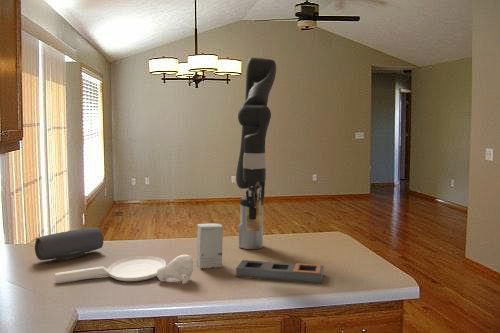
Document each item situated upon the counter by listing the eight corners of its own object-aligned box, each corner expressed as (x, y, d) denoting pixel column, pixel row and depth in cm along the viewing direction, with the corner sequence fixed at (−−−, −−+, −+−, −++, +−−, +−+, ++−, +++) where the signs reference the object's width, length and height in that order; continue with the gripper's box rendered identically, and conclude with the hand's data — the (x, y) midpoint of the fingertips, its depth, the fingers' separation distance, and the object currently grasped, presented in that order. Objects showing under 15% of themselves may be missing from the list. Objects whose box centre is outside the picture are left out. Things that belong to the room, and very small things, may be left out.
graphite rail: (236, 276, 155) (236, 267, 155) (242, 268, 164) (242, 259, 164) (321, 283, 149) (321, 273, 149) (323, 274, 158) (323, 264, 158)
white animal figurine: (191, 257, 147) (153, 261, 147) (194, 283, 148) (156, 287, 148) (193, 251, 153) (156, 255, 153) (195, 277, 154) (159, 280, 154)
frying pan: (55, 299, 141) (54, 285, 140) (57, 275, 158) (55, 263, 158) (171, 280, 153) (171, 267, 152) (161, 260, 171) (160, 248, 170)
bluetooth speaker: (93, 249, 188) (92, 224, 187) (104, 253, 182) (103, 228, 181) (34, 260, 172) (33, 234, 171) (44, 266, 166) (43, 238, 165)
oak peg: (246, 230, 156) (247, 200, 155) (249, 228, 160) (249, 198, 159) (258, 231, 155) (258, 201, 154) (261, 228, 159) (261, 199, 158)
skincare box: (199, 269, 163) (199, 227, 162) (196, 264, 169) (196, 223, 167) (223, 267, 166) (223, 225, 164) (219, 262, 171) (219, 222, 170)
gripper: (248, 164, 163) (247, 213, 165) (238, 168, 149) (237, 221, 151) (269, 164, 161) (269, 214, 163) (261, 169, 147) (260, 223, 149)
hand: (254, 217), depth 157 cm, fingers closed on oak peg, 4 cm apart
